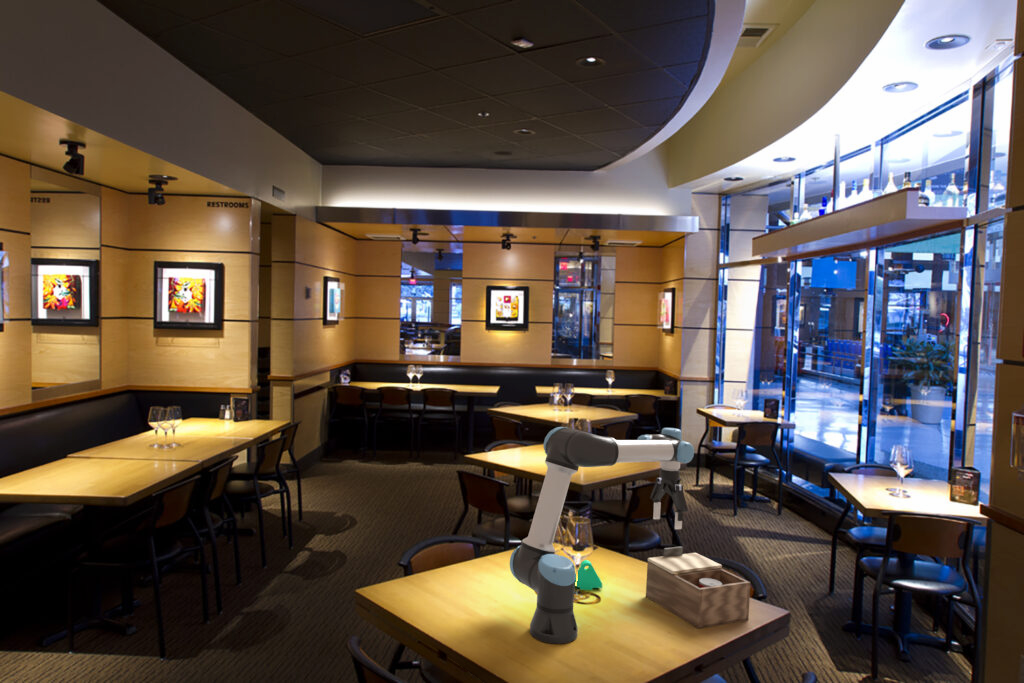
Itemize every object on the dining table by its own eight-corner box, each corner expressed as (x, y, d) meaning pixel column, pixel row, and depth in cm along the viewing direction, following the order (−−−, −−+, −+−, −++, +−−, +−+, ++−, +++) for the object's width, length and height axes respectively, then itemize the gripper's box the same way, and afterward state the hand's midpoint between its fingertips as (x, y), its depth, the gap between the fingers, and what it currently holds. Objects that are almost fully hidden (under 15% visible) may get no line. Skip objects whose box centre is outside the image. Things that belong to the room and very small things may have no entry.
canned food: (714, 620, 224) (716, 588, 224) (693, 612, 230) (694, 581, 230) (724, 614, 230) (726, 582, 230) (703, 606, 235) (705, 576, 235)
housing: (697, 628, 219) (699, 589, 219) (645, 596, 244) (647, 561, 244) (748, 619, 228) (750, 582, 228) (693, 589, 254) (695, 555, 254)
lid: (672, 574, 231) (673, 562, 231) (647, 560, 244) (648, 549, 244) (721, 567, 241) (722, 556, 241) (695, 555, 254) (695, 544, 254)
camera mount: (598, 583, 256) (600, 556, 256) (601, 590, 248) (603, 563, 248) (567, 582, 255) (569, 555, 255) (570, 589, 248) (571, 562, 248)
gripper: (699, 475, 243) (696, 532, 243) (658, 462, 266) (655, 514, 266) (682, 476, 240) (679, 534, 240) (643, 462, 263) (640, 515, 263)
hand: (667, 524), depth 253 cm, fingers open, 13 cm apart
